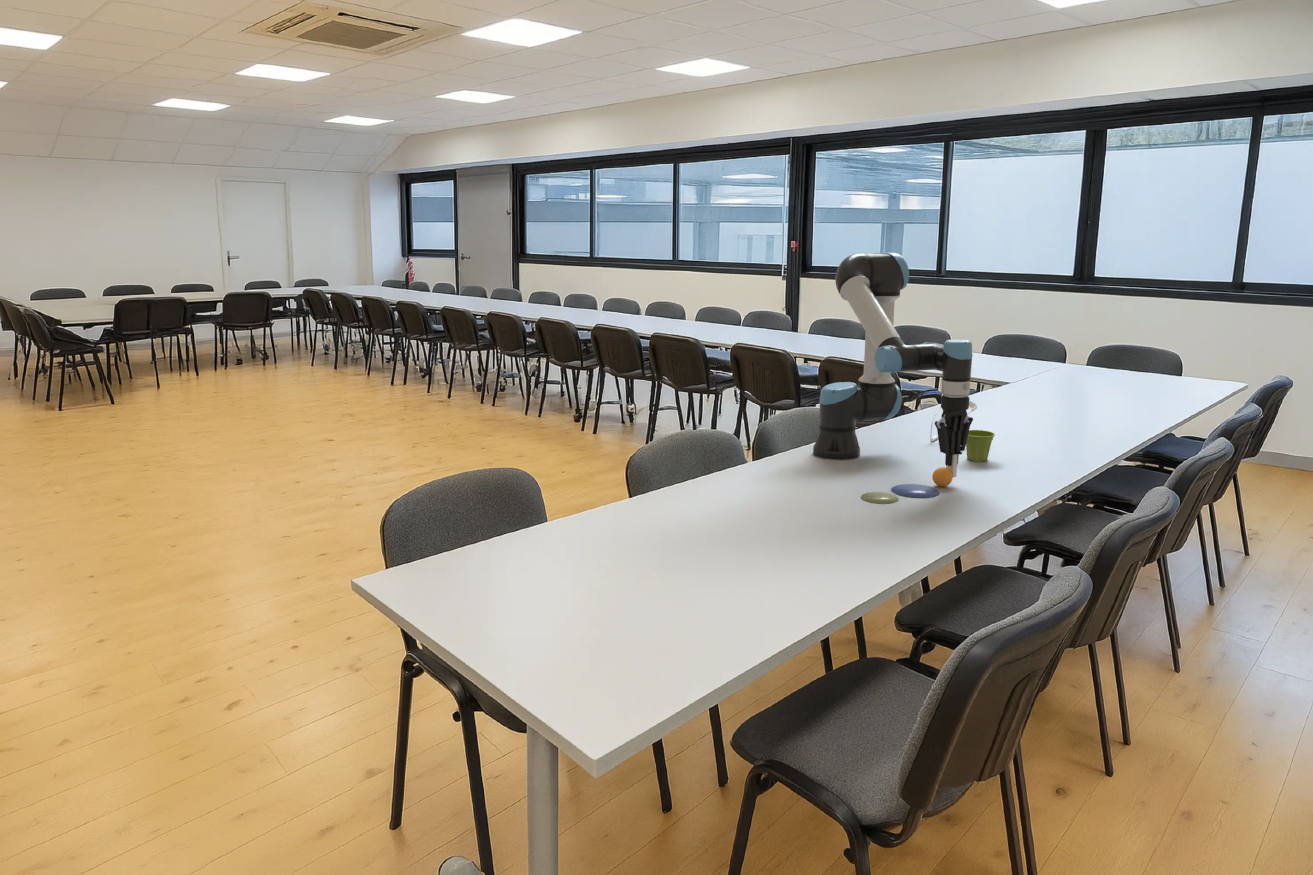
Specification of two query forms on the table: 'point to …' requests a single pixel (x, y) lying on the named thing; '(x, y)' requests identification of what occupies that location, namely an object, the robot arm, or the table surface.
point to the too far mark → (879, 497)
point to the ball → (942, 476)
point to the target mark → (915, 490)
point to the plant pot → (978, 444)
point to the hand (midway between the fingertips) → (951, 475)
